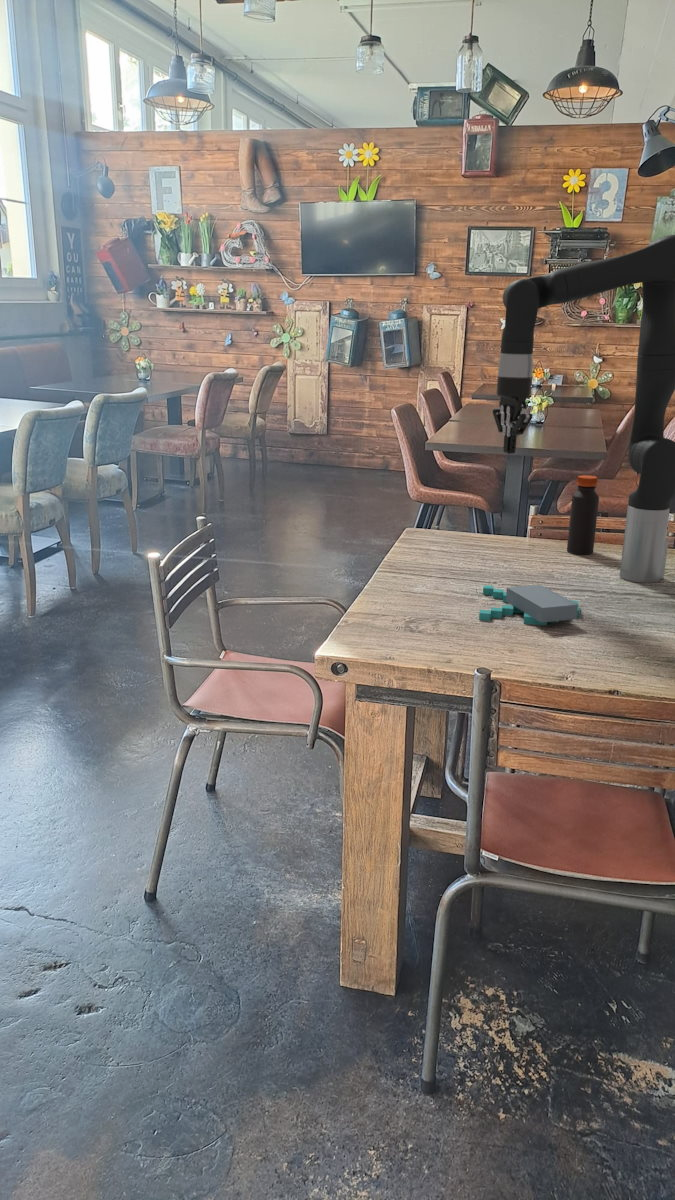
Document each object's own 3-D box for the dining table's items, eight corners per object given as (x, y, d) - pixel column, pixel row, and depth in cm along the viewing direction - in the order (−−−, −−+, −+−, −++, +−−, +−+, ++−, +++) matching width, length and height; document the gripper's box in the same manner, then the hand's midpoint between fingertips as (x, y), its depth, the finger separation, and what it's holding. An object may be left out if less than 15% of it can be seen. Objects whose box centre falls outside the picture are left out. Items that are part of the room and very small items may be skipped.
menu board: (540, 584, 181) (577, 604, 169) (539, 598, 182) (576, 619, 170) (506, 587, 179) (542, 607, 166) (505, 601, 180) (541, 622, 167)
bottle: (597, 554, 224) (606, 478, 218) (574, 555, 222) (581, 479, 216) (585, 548, 230) (593, 474, 224) (562, 549, 229) (569, 474, 222)
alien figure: (478, 623, 173) (580, 631, 169) (479, 613, 172) (581, 621, 169) (483, 594, 192) (574, 601, 188) (483, 585, 191) (576, 591, 187)
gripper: (546, 376, 186) (539, 456, 191) (512, 373, 198) (506, 448, 203) (517, 376, 183) (511, 457, 188) (484, 373, 195) (479, 449, 200)
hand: (509, 452), depth 196 cm, fingers closed
